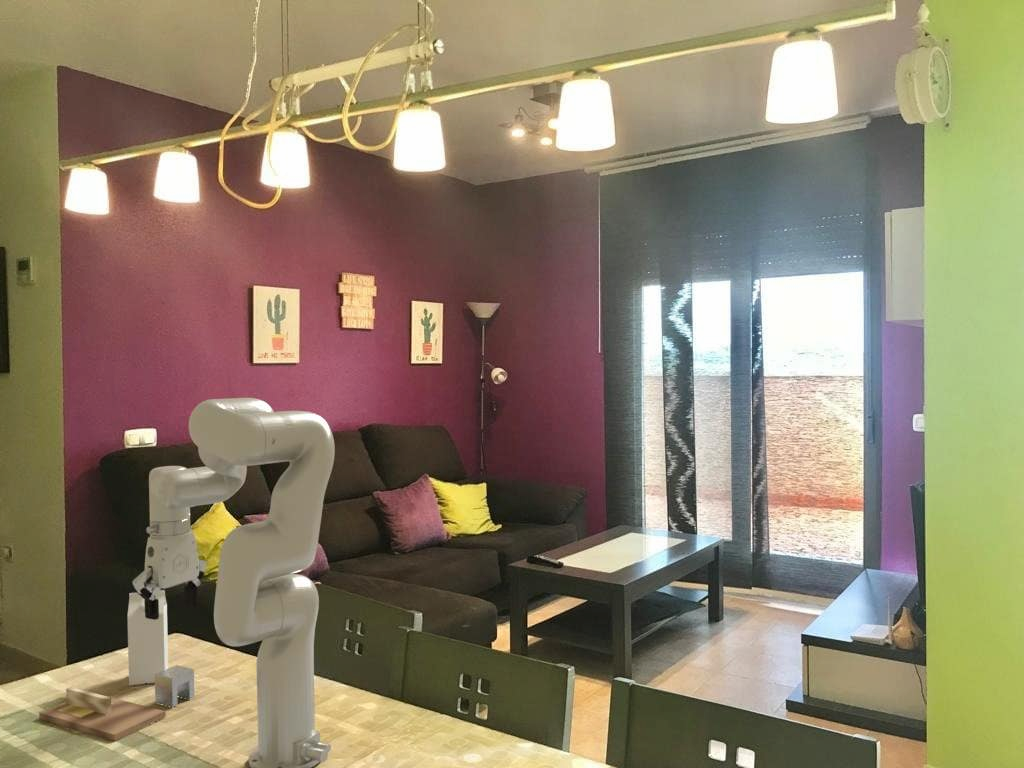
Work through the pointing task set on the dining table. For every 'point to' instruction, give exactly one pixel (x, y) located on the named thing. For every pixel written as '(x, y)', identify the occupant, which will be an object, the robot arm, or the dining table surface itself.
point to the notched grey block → (174, 685)
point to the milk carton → (146, 640)
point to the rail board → (101, 714)
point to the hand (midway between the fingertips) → (172, 611)
